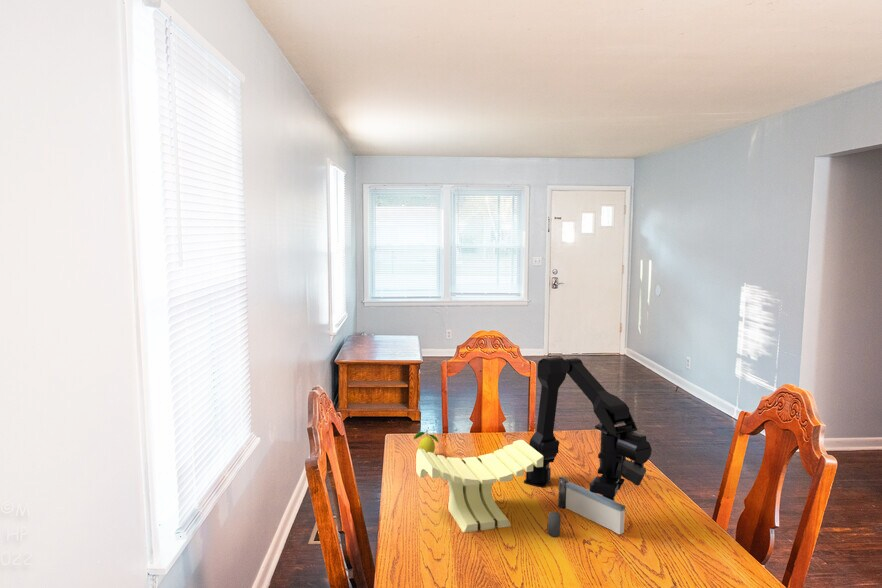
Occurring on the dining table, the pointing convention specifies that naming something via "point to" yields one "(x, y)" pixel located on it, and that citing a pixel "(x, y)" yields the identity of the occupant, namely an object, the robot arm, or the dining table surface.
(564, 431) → the dining table surface
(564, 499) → the gate post
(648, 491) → the dining table surface
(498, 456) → the slatted curved stool
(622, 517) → the gate
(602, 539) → the dining table surface
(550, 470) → the robot arm
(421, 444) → the lemon
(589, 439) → the dining table surface
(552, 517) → the gate stop
